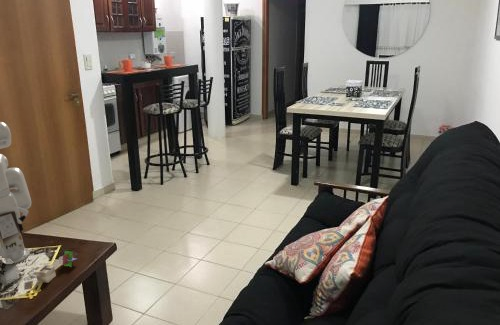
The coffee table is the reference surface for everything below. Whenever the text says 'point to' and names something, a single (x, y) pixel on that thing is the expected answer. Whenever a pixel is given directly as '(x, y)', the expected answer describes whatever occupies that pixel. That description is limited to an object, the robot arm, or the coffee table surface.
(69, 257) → the geometric puzzle
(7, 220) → the coffee box
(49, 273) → the letter block
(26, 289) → the coffee table surface
